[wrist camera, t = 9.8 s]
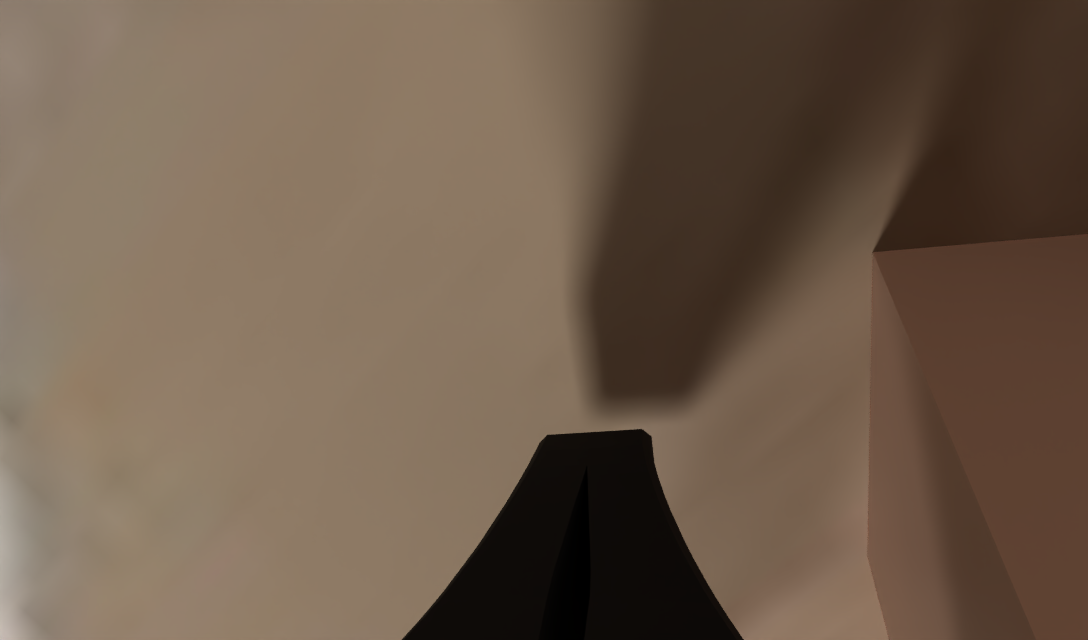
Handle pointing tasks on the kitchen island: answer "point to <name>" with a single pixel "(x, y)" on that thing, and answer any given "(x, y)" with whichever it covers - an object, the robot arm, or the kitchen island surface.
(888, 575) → the terracotta jar
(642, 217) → the kitchen island surface
